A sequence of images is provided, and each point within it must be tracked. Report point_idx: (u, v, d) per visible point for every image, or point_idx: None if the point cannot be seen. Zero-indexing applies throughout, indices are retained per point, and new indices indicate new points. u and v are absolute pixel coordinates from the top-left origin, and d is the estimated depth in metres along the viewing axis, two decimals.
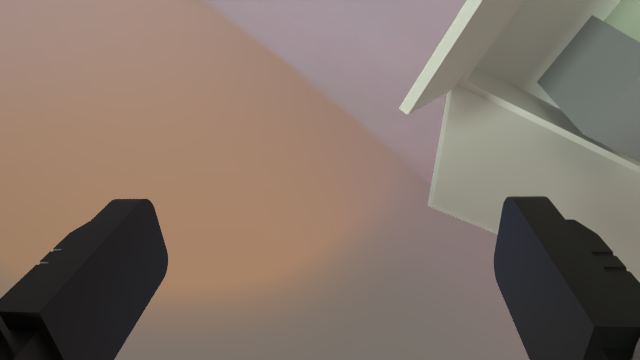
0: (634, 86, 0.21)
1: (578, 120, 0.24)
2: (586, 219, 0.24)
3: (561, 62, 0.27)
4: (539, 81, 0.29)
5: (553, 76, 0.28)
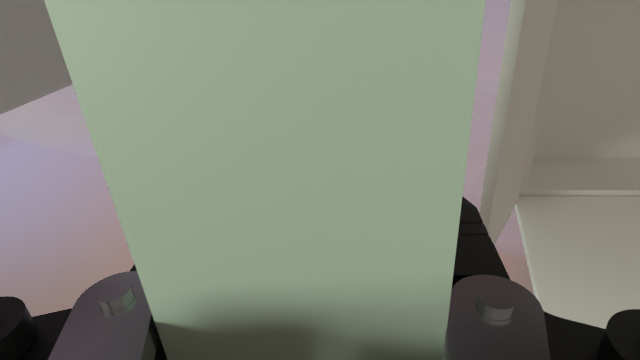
0: None
1: None
2: None
3: None
4: None
5: None
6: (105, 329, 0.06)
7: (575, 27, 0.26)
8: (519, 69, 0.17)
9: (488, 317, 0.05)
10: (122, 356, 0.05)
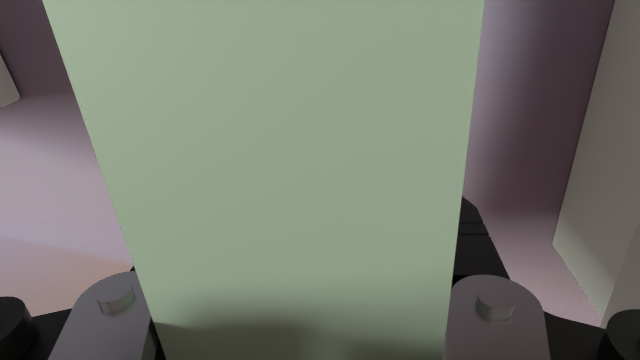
0: None
1: None
2: None
3: None
4: None
5: None
6: (105, 329, 0.06)
7: None
8: None
9: (488, 317, 0.05)
10: (122, 356, 0.05)
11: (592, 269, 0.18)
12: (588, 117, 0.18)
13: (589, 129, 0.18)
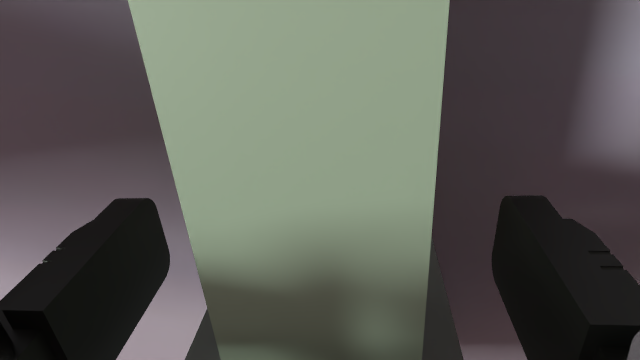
0: None
1: None
2: None
3: None
4: None
5: None
6: None
7: None
8: None
9: None
10: None
11: None
12: None
13: None
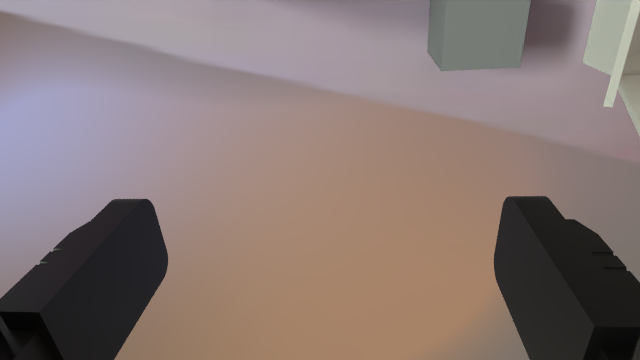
0: (447, 25, 0.30)
1: (438, 63, 0.33)
2: None
3: (429, 31, 0.37)
4: (427, 50, 0.38)
5: (429, 43, 0.37)
6: None
7: None
8: None
9: None
10: None
11: (606, 55, 0.34)
12: None
13: None
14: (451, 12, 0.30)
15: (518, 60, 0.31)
